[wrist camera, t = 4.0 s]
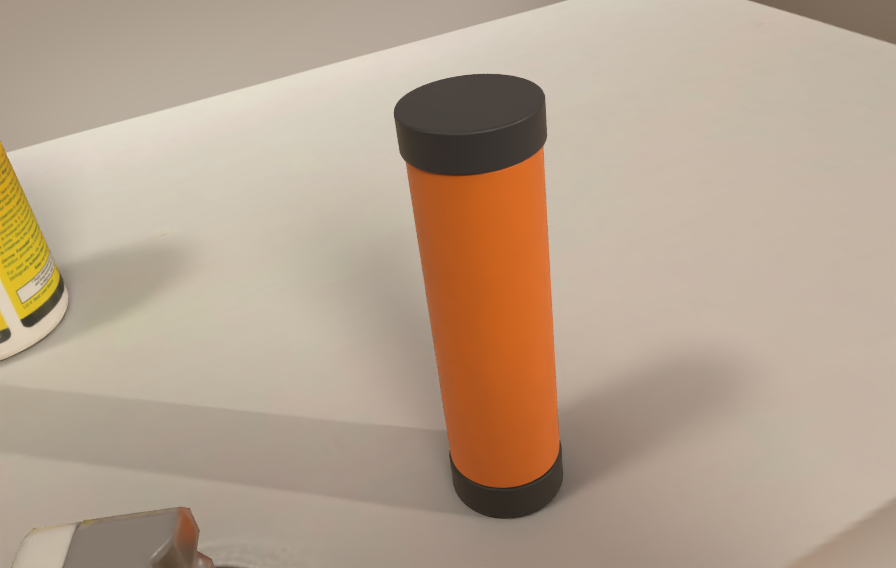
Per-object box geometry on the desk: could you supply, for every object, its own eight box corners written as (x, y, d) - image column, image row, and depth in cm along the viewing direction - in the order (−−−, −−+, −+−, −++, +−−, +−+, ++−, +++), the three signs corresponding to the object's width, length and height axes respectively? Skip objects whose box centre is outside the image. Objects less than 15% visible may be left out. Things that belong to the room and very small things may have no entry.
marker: (582, 500, 25) (569, 111, 18) (471, 535, 24) (414, 146, 17) (539, 424, 27) (514, 62, 21) (438, 454, 27) (378, 91, 20)
